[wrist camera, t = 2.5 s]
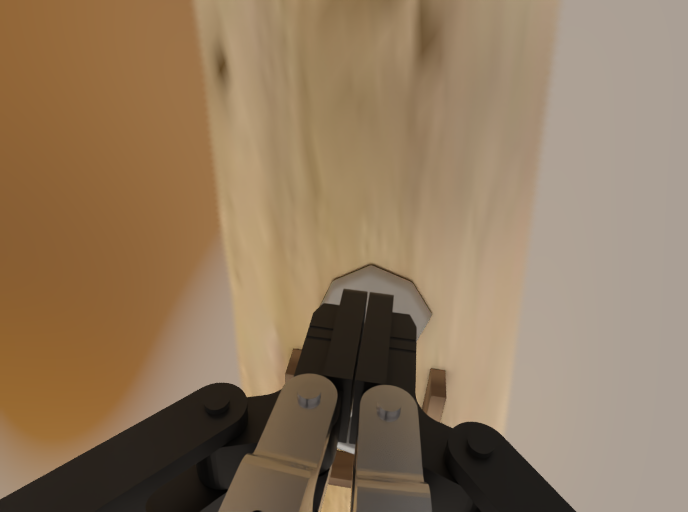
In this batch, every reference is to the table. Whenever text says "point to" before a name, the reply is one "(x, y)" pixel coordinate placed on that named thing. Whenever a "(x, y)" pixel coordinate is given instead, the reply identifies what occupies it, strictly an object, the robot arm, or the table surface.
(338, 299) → the flask
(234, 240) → the table surface
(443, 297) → the table surface
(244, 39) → the table surface
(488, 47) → the table surface
